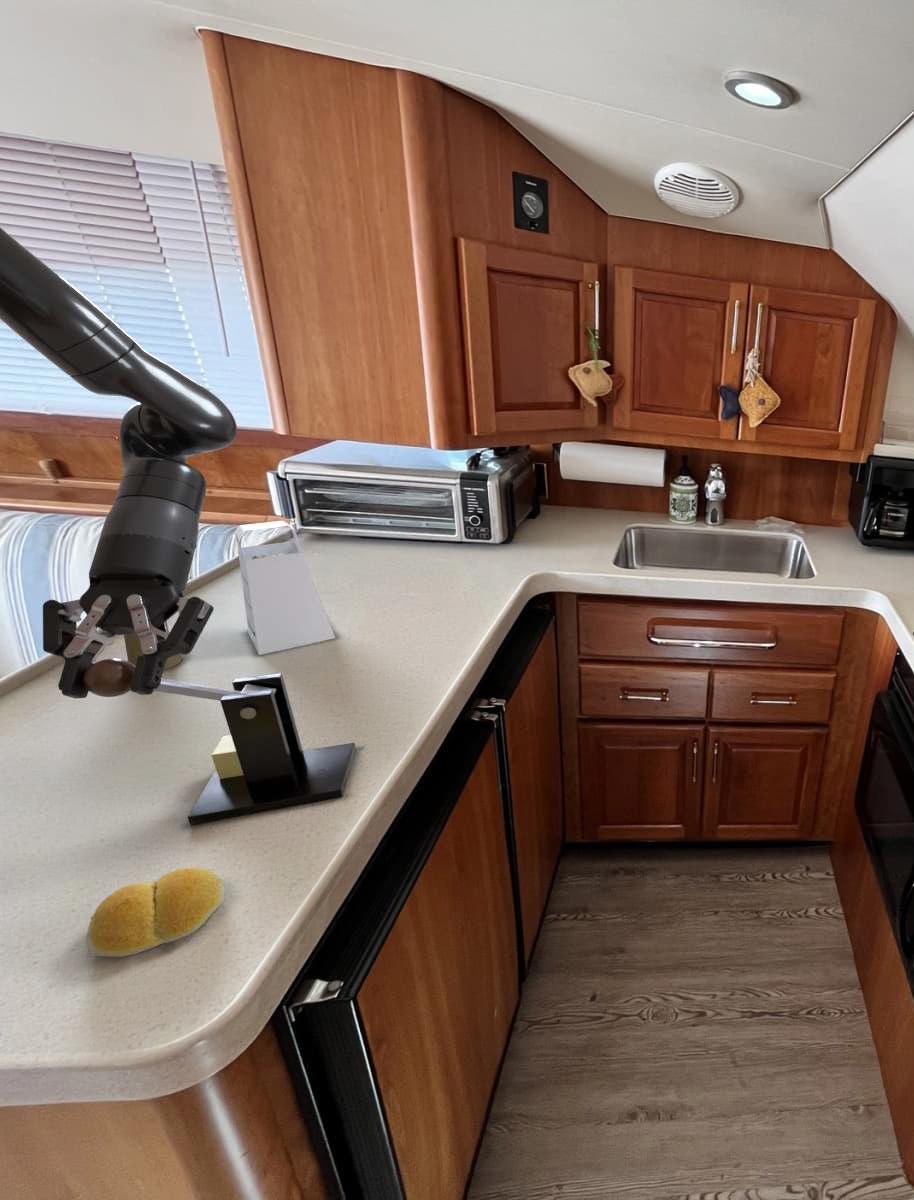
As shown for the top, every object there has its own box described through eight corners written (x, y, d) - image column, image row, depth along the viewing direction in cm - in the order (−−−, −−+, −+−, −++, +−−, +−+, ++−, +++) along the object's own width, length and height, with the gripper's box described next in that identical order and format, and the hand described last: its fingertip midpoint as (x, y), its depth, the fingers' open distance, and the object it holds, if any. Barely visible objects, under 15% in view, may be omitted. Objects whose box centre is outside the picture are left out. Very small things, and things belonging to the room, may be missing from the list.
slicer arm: (70, 700, 64) (79, 665, 63) (90, 680, 67) (99, 648, 66) (261, 726, 72) (271, 696, 71) (271, 707, 75) (280, 679, 74)
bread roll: (227, 925, 59) (215, 894, 58) (88, 977, 54) (71, 944, 52) (227, 869, 65) (217, 839, 64) (102, 911, 60) (87, 879, 58)
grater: (248, 632, 111) (216, 522, 103) (320, 618, 118) (296, 513, 110) (259, 655, 104) (226, 538, 96) (335, 638, 111) (310, 528, 104)
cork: (184, 665, 100) (163, 601, 95) (130, 677, 95) (105, 610, 91) (180, 651, 103) (159, 588, 99) (128, 662, 99) (104, 597, 95)
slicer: (190, 826, 70) (151, 720, 65) (221, 771, 78) (188, 674, 73) (342, 797, 76) (317, 698, 70) (356, 749, 84) (335, 658, 79)
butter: (219, 779, 75) (211, 755, 74) (230, 759, 79) (222, 736, 77) (261, 772, 77) (254, 748, 76) (270, 753, 80) (263, 730, 79)
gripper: (38, 530, 66) (-17, 690, 60) (205, 530, 69) (168, 681, 63) (94, 562, 72) (49, 708, 66) (243, 560, 76) (214, 698, 70)
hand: (108, 694), depth 65 cm, fingers closed on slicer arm, 5 cm apart
